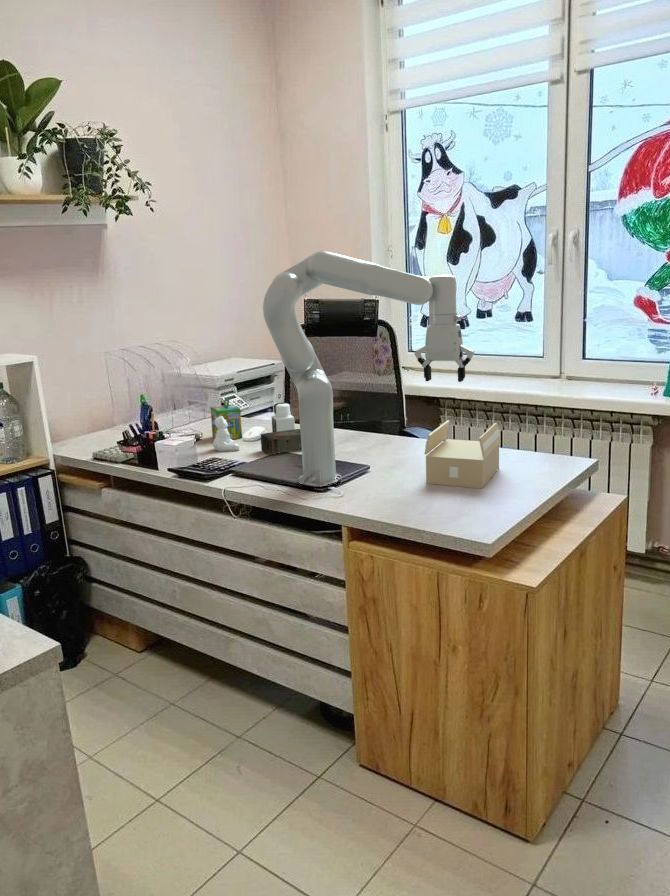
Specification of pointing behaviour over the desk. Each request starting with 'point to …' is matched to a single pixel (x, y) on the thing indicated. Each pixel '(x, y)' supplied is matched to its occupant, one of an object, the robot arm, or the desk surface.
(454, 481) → the carton
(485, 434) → the right flap
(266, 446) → the beverage carton
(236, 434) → the chalk box
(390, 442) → the desk surface
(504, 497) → the desk surface
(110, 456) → the mechanical keyboard
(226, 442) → the white creature statuette
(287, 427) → the medicine bottle
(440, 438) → the left flap
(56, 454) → the desk surface
